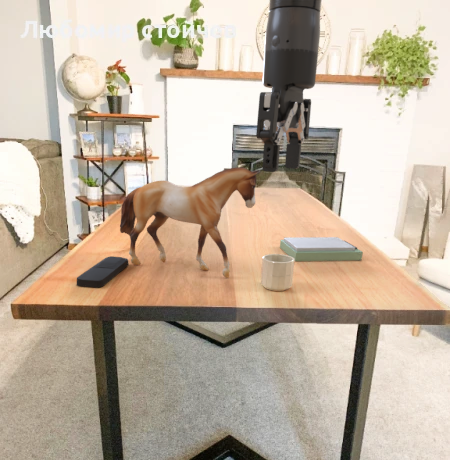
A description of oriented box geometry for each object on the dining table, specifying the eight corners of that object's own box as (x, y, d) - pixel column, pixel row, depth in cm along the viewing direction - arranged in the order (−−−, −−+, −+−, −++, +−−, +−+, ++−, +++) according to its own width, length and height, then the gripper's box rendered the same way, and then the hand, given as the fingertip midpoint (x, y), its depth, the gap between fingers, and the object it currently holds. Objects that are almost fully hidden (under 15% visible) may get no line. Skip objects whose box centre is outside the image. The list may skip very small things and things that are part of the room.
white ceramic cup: (286, 281, 86) (289, 253, 84) (295, 291, 81) (298, 262, 79) (257, 281, 85) (259, 254, 83) (265, 292, 80) (267, 263, 78)
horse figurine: (256, 273, 90) (263, 168, 82) (243, 284, 83) (250, 171, 75) (124, 253, 100) (119, 158, 92) (103, 262, 93) (97, 159, 85)
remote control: (101, 290, 79) (130, 264, 92) (100, 281, 78) (129, 255, 91) (74, 288, 79) (107, 262, 93) (73, 279, 78) (106, 254, 92)
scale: (340, 247, 113) (341, 236, 112) (361, 260, 102) (363, 248, 101) (279, 247, 110) (280, 236, 109) (295, 261, 99) (296, 249, 98)
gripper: (297, 40, 55) (286, 175, 61) (332, 57, 66) (320, 169, 72) (244, 43, 58) (238, 170, 64) (286, 58, 70) (277, 165, 76)
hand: (281, 169), depth 68 cm, fingers open, 8 cm apart
